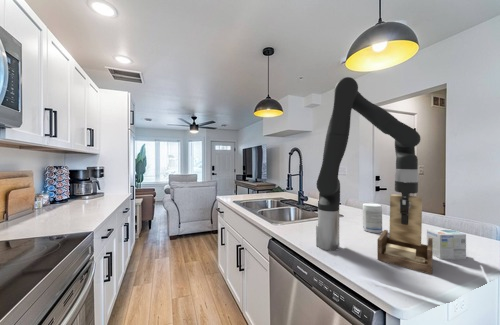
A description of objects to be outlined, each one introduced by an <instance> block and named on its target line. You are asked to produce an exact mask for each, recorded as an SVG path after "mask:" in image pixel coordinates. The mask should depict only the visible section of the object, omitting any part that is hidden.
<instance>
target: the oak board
mask: <svg viewBox="0 0 500 325" xmlns="http://www.w3.org/2000/svg"><path fill="white" fill-rule="evenodd" d="M401 197H402V194H391V195H390V196H389V233H388V234H389V235H388V237H389V239H391V240H395V241H400V242H405V243H409V244H414V245H419V246H421V244H422V231H423V229H422V226H423V225H422V224H423V223H422V222H423V221H422V220H423V218H422V217H423V197H421V196H414V195H410V196H409V202H411V209H410V210H409V215H408V225H404V224H402V223H401V214H400V199H401ZM408 207H409V204H408ZM403 211H407V210H406V209H403Z"/></svg>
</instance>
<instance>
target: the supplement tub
mask: <svg viewBox="0 0 500 325" xmlns="http://www.w3.org/2000/svg"><path fill="white" fill-rule="evenodd" d="M362 229H363V230H364V231H365V232H369V233H373V234H379V233H380V234H381V233H382V232H383V208H382V205H381V204H378V203H367V202H366V203H365V202H364V203H362Z"/></svg>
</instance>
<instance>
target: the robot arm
mask: <svg viewBox="0 0 500 325" xmlns="http://www.w3.org/2000/svg"><path fill="white" fill-rule="evenodd" d="M358 90H359V84H358V82H357V81H356V79H355V78H353V77H349V76H347V77H343V78H342V79H341V78H340V80H339V81H338V82H337V83H336V85H335V87H334V97H333V99H334V100H333V108H332V113H331V115H330V120H329V123H328V127H327V130H326V135H325V140H324V146H323V147H324V148H323V155H322V162H321V167H320V170H319V173H318V176H317V180H316V189H317V191H318V193H319V195H318V197H319V198H318V201H317V202H318V203H317V224H316V226H315V236H316V237H315V238H316V239H315V246H316V247H318V248H320V249H321V250H324V251H332V252H333V251H334V252H335V251H338V250H339V249H340V204H341V203H340V202H341V182H340V179H339V172H340V166H341V163H342V161H343V157H344V155H345V152H346V150H347V146H348V143H349V136H350V130H351V116H352V110H354V111H356V113H358V114H359V115H361V116H362V117H363V118H365V119H366V120H367V121H368V122H369V123H370V124H371V125H373V126H374V127H375V128H376V129H378V130H379V131H380V132H382V133H383V134H385V135H388V136H390V137H391V138H393V139H394V150H395V157H396V158H395V159H396V161H395V171H394V172H395V174H394V191H395V192H396V193H401V195H402V197H401V199H400V214H401V223H402V224H404V225H408V215H409V210H410V209H411V202H409V196H411V194H418V193H419V170H418V169H419V168H418V166H419V165H418V163H419V162H418V161H419V160H418V156H417V155H416V150H415V147H417V146H418V145H419V144H420V142H421V135H420V134H419V132H418V131H417V130H415V129H414V128H412V127H411V126H409V125H407V124H406V123H404V122H402V121H401V120H398V118H396V117H395V116H394V115H392V114H391V113H390V112H388V111H387V110H386V109H385V108H382V107H381V106H379V105H376V104H375V103H374V102H372V101H369V100H368V99H367V98H366V97H364V96H363V95H362V93H360V92H359V91H358ZM408 204H409V207H408ZM403 209H406V210H407V211H403Z"/></svg>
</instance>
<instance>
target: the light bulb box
mask: <svg viewBox="0 0 500 325" xmlns="http://www.w3.org/2000/svg"><path fill="white" fill-rule="evenodd" d="M428 238H433V257H435V258H437V259H439V260H466V259H467V234H466V233H463V232H460V231H456V230H454V229H450V228H449V229H445V228H443V229H426V245H428Z"/></svg>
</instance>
